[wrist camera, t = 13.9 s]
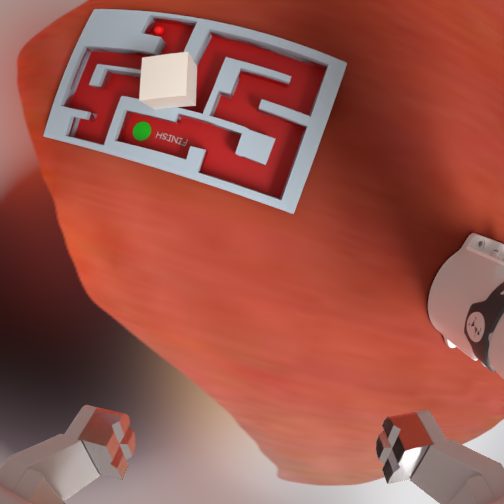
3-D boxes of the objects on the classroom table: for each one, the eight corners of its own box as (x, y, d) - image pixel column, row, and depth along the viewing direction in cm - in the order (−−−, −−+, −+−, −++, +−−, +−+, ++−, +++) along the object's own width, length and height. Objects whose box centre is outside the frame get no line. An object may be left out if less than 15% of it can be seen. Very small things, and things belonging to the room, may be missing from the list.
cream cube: (197, 66, 31) (188, 51, 26) (195, 105, 32) (186, 95, 27) (156, 71, 31) (142, 57, 26) (154, 109, 32) (139, 100, 27)
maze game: (340, 70, 33) (347, 62, 30) (290, 210, 38) (293, 214, 35) (103, 17, 31) (94, 9, 28) (55, 137, 36) (43, 136, 33)
